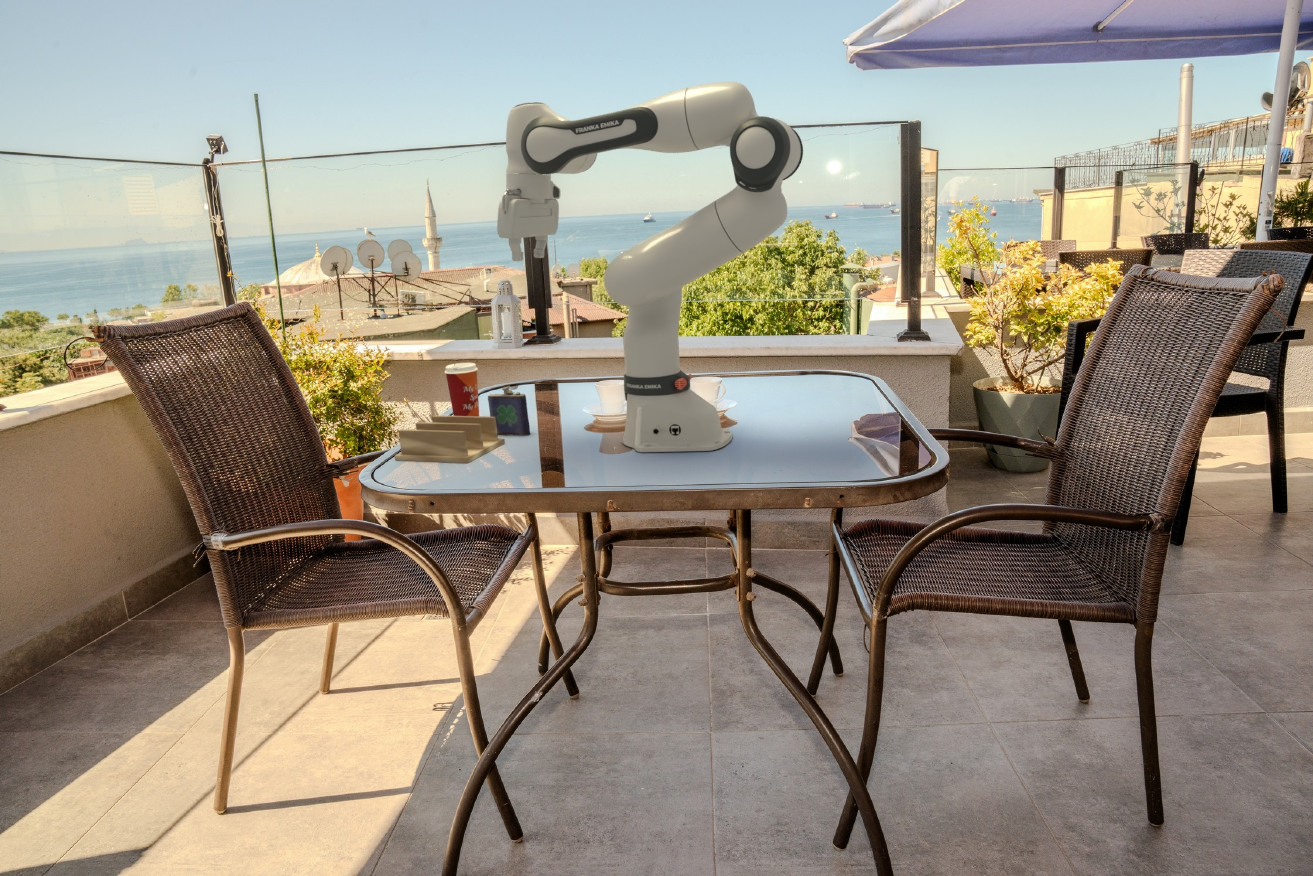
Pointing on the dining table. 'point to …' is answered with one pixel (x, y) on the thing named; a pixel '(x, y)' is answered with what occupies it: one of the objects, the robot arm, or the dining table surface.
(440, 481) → the dining table surface
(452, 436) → the rack
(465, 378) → the paper cup
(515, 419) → the flask
